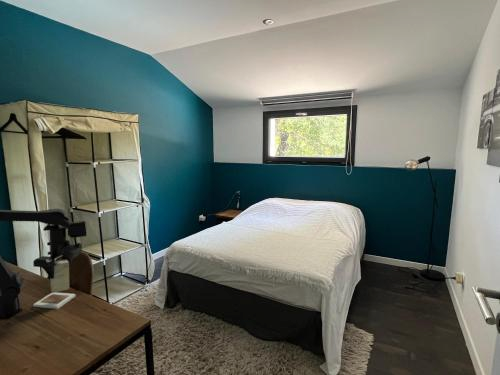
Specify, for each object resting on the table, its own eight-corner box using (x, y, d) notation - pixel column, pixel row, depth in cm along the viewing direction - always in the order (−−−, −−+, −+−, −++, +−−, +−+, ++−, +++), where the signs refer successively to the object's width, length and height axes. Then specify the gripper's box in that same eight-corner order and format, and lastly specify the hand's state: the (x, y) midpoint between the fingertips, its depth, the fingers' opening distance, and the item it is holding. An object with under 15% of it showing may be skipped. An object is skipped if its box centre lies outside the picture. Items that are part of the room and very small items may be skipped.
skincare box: (52, 293, 112) (50, 265, 110) (50, 289, 115) (49, 262, 113) (70, 288, 116) (69, 261, 115) (67, 284, 119) (66, 258, 118)
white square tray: (57, 308, 112) (57, 305, 112) (33, 306, 113) (33, 303, 113) (75, 296, 122) (75, 293, 122) (53, 294, 123) (52, 291, 123)
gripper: (57, 248, 103) (59, 286, 105) (91, 234, 121) (92, 267, 123) (31, 245, 104) (33, 284, 106) (68, 232, 122) (69, 265, 124)
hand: (59, 274), depth 115 cm, fingers closed on skincare box, 7 cm apart
